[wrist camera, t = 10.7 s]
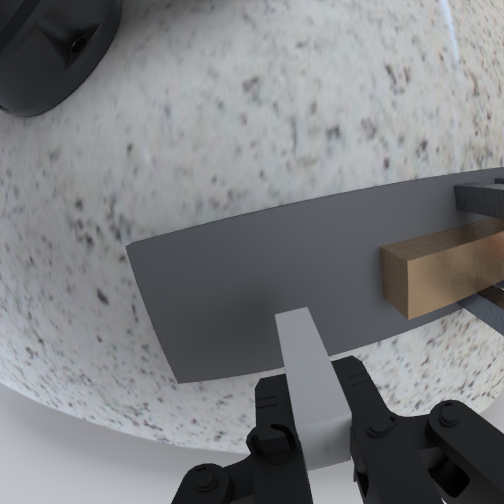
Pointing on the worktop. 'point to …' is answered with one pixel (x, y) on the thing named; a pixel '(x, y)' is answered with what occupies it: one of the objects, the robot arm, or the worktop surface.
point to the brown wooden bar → (442, 266)
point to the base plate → (288, 274)
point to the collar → (497, 206)
